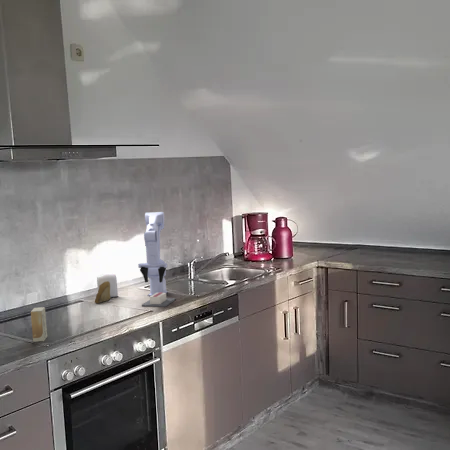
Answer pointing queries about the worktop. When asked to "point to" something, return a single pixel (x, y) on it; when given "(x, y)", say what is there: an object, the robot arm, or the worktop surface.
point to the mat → (163, 304)
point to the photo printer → (112, 281)
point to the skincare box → (39, 324)
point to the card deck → (158, 298)
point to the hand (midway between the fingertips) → (153, 282)
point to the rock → (103, 292)
